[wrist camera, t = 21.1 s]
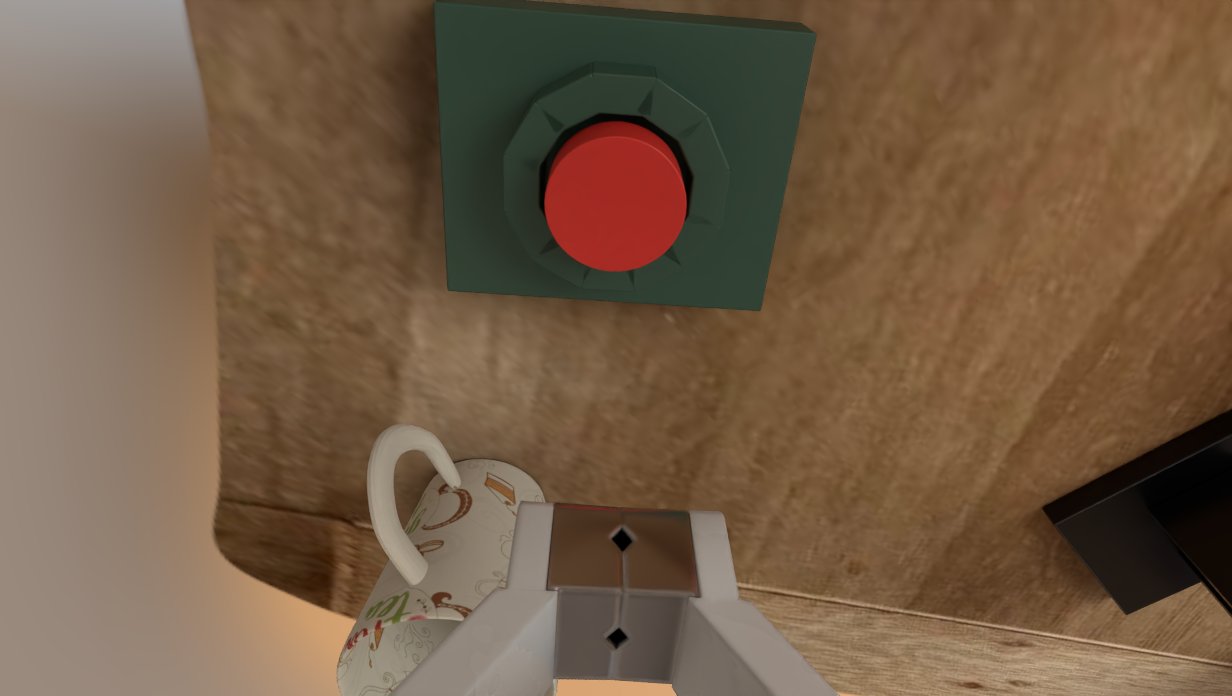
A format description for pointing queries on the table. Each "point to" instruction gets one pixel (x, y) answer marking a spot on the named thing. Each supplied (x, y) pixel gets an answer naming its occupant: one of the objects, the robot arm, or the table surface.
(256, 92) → the table surface
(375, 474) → the mug
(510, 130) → the button box
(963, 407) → the table surface
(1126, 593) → the bracket
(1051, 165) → the table surface
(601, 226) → the button
